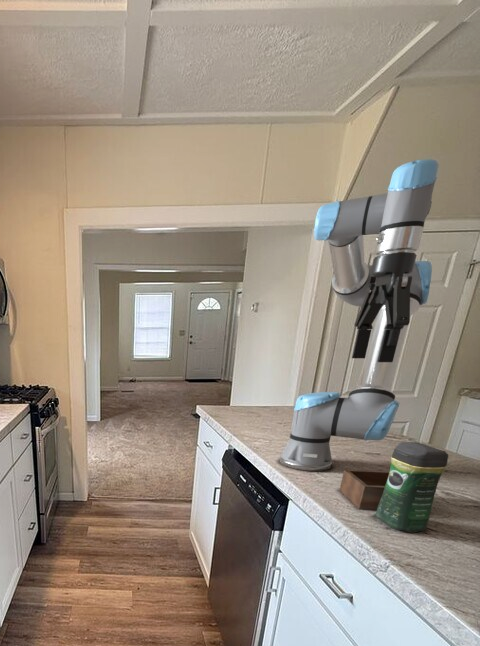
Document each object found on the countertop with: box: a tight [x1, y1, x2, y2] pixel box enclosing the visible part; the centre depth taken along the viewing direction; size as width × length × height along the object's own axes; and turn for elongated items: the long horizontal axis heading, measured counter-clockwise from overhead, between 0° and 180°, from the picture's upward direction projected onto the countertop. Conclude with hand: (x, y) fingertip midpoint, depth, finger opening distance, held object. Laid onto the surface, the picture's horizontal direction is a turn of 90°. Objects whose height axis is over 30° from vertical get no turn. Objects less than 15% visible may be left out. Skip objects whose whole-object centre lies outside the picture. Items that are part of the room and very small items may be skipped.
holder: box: [339, 469, 390, 511], centre depth 103 cm, size 13×15×6 cm
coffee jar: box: [375, 441, 449, 533], centre depth 88 cm, size 10×8×19 cm
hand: (370, 360), depth 93 cm, fingers open, 13 cm apart
